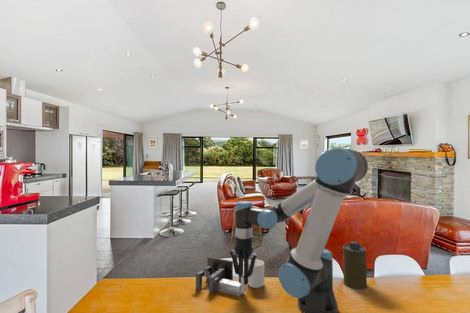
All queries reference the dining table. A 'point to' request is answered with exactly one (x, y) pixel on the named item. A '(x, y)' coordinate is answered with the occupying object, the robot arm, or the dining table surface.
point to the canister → (354, 266)
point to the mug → (257, 275)
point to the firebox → (215, 272)
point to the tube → (228, 286)
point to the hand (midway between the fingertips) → (243, 291)
